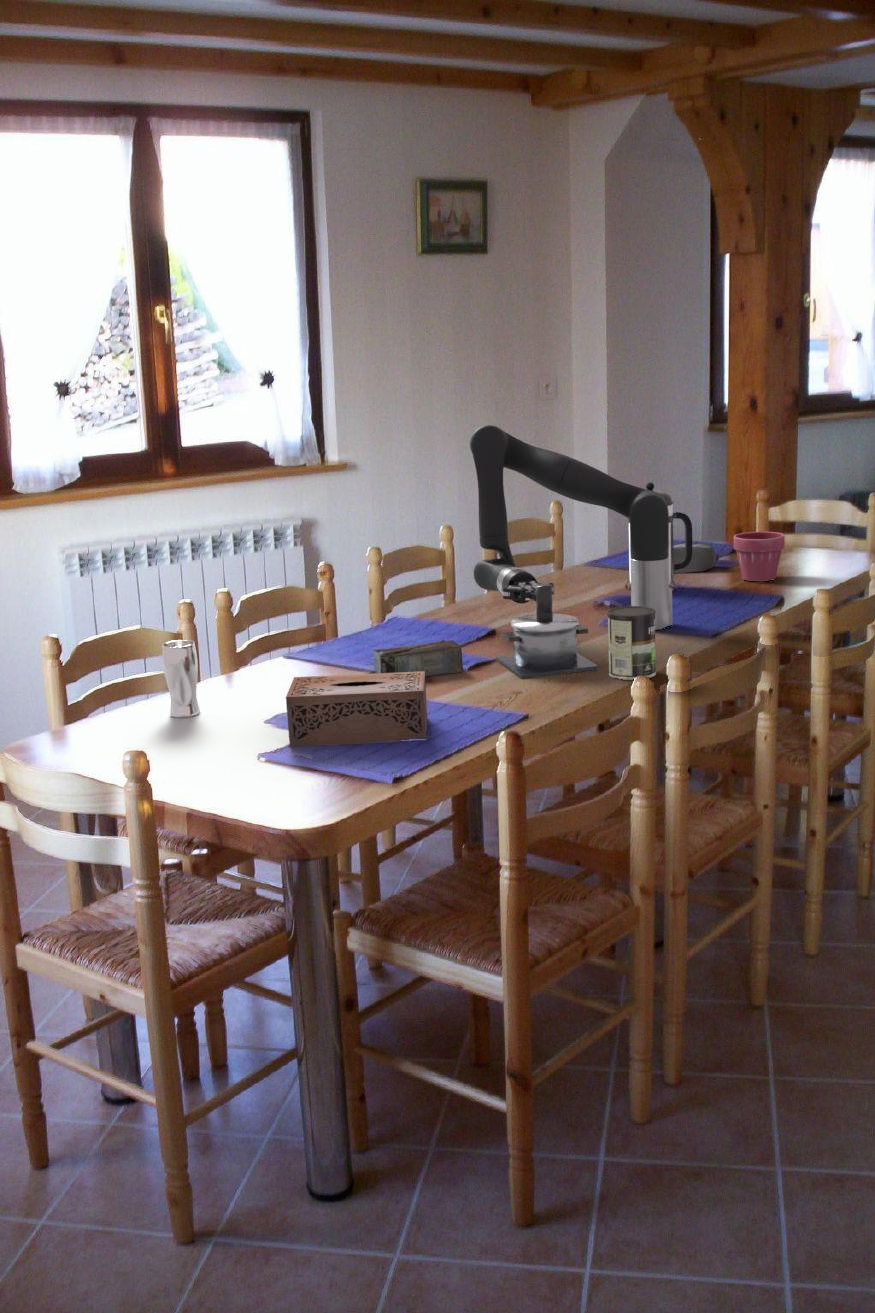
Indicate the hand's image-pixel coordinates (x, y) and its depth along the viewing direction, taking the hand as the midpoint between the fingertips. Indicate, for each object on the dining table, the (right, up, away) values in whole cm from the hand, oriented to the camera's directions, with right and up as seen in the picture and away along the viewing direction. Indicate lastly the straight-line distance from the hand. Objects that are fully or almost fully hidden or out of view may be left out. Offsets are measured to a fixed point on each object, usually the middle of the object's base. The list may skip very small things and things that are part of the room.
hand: (541, 597), depth 309 cm
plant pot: (+68, +9, +84) cm, 108 cm away
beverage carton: (-27, -17, 0) cm, 32 cm away
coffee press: (+38, +6, +78) cm, 86 cm away
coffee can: (+19, -17, -10) cm, 27 cm away
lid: (+1, -6, 0) cm, 6 cm away
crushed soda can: (-75, -25, -23) cm, 83 cm away
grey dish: (+51, +13, +104) cm, 116 cm away
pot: (+1, -15, +2) cm, 15 cm away
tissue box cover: (-38, -28, -41) cm, 63 cm away
